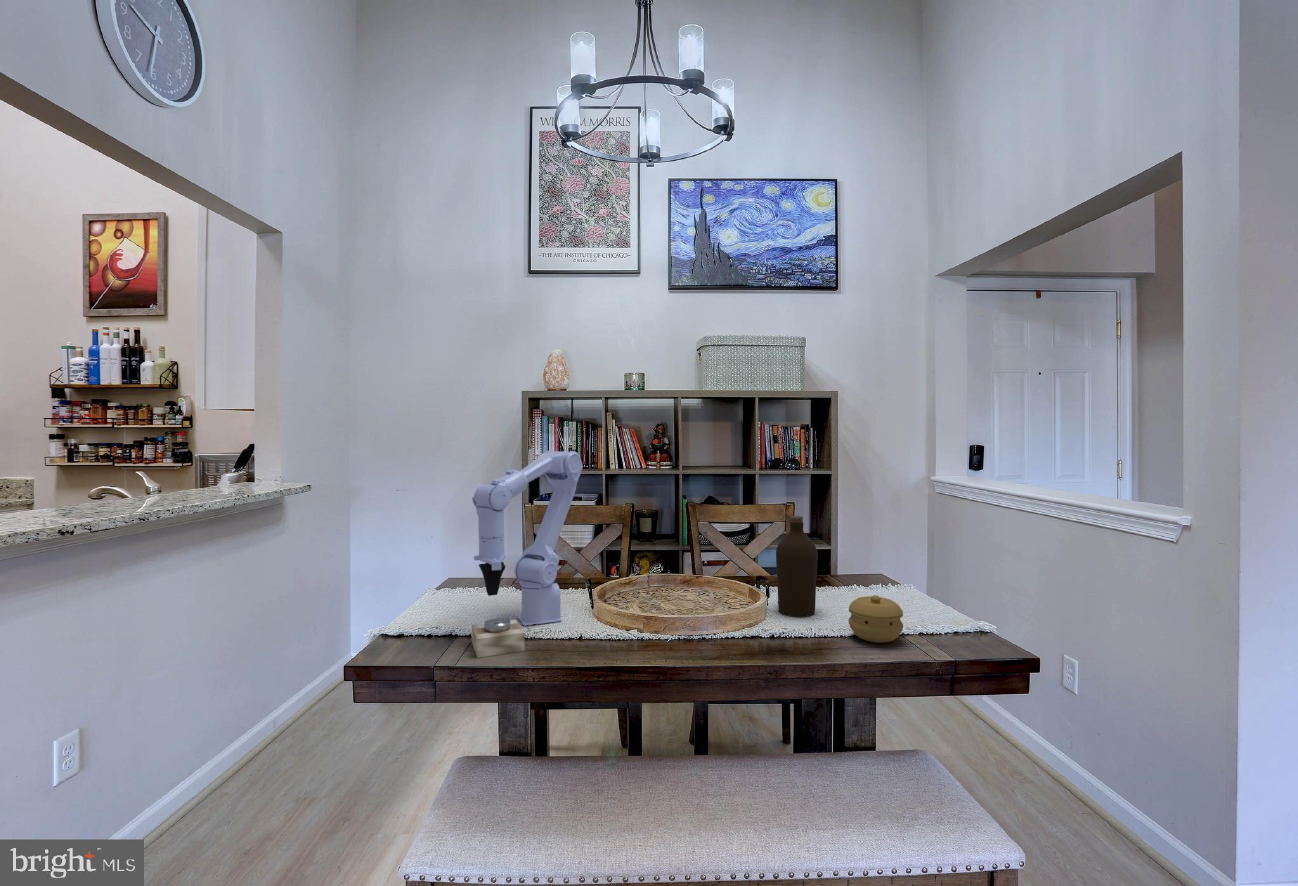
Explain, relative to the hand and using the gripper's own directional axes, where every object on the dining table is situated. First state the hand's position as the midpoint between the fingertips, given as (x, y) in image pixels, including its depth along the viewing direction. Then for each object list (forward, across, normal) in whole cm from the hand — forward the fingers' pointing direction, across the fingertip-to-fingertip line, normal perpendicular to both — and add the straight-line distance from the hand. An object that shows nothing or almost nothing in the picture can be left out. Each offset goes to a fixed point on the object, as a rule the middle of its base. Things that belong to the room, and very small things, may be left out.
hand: (492, 594), depth 144 cm
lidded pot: (+10, +37, +80) cm, 89 cm away
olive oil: (+10, +13, +76) cm, 78 cm away
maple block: (+10, +7, 0) cm, 12 cm away
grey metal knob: (+9, +7, 0) cm, 12 cm away
